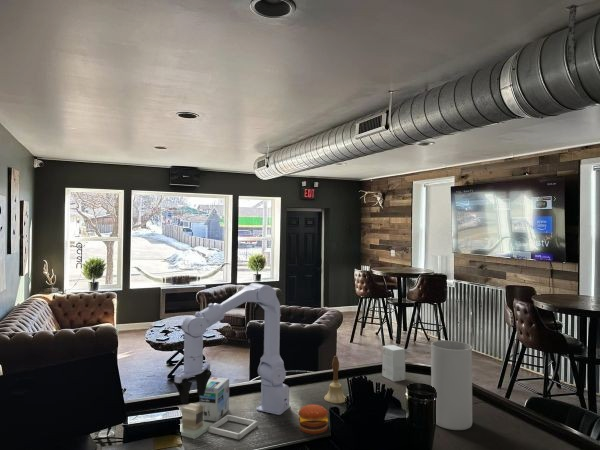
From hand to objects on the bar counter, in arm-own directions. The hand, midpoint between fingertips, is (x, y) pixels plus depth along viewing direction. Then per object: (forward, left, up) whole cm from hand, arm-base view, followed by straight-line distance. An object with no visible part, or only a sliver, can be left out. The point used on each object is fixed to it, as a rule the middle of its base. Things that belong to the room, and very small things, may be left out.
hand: (192, 399), depth 132 cm
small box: (-45, -76, -10) cm, 89 cm away
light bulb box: (+1, -12, -10) cm, 16 cm away
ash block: (0, 0, -8) cm, 8 cm away
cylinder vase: (-72, -41, -10) cm, 83 cm away
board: (0, 0, -9) cm, 9 cm away
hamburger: (-33, -18, -10) cm, 39 cm away
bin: (-11, -6, -9) cm, 16 cm away
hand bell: (-31, -43, -10) cm, 54 cm away
